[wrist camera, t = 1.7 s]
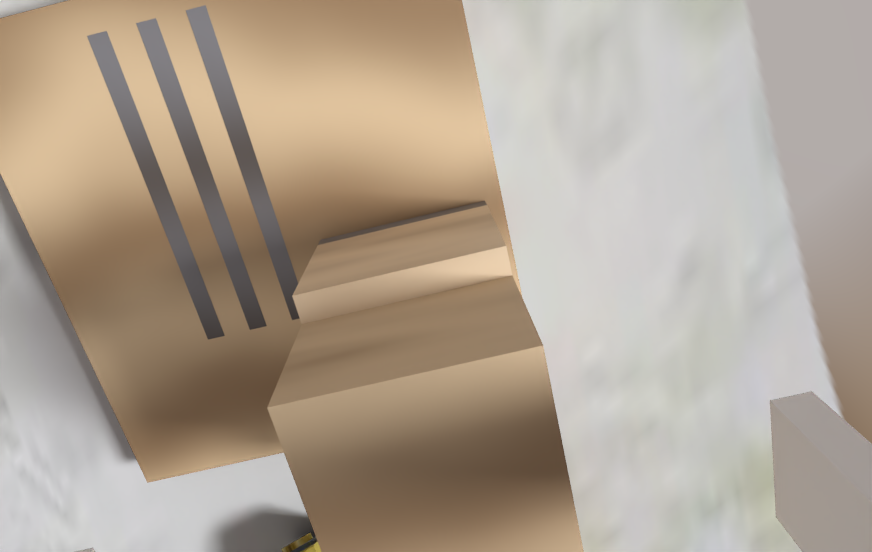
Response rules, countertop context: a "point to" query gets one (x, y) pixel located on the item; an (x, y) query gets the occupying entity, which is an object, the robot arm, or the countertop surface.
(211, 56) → the board
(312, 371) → the block
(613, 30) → the countertop surface
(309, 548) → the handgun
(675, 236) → the countertop surface
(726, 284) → the countertop surface
